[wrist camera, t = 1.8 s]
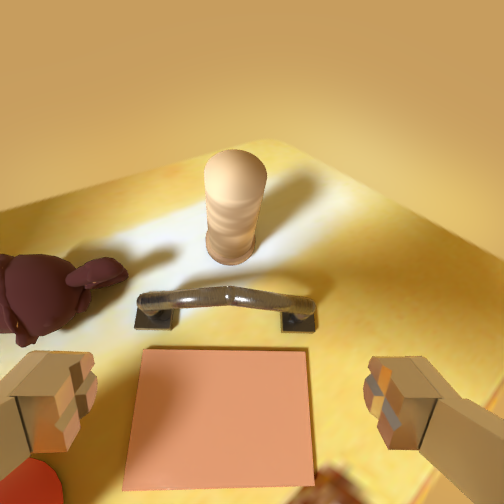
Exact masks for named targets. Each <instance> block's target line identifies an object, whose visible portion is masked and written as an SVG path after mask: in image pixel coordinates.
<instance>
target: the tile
mask: <svg viewBox="0 0 504 504" xmlns="http://www.w3.org/2000/svg"><path fill="white" fill-rule="evenodd" d="M289 486H315V484H314V470H313V456H312V441H311V427H310V412H309V398H308V384H307V369H306V355H305V352H295V351H229V350H162V349H143V355H142V362H141V368H140V375H139V381H138V388H137V395H136V401H135V408H134V414H133V421H132V428H131V434H130V441H129V447H128V454H127V461H126V467H125V474H124V480H123V487H122V491H147V490H182V489H218V488H253V487H289Z"/></svg>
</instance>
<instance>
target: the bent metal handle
mask: <svg viewBox="0 0 504 504" xmlns="http://www.w3.org/2000/svg"><path fill="white" fill-rule="evenodd" d="M227 305H231V306H239V307H247V308H255V309H262V310H270V311H278V312H280V317H281V333H314V332H315V323H314V312H315V311H316V303H315V302H314V300H312V299H310V298H305V297H298V296H292V295H286V294H279V293H273V292H266V291H260V290H254V289H247V288H241V287H234V286H223V287H211V288H199V289H187V290H175V291H163V292H150V293H143V294H140V296H139V297H138V298H137V306H138V308H137V314H136V319H135V325H134V328H135V329H136V330H171V326H172V317H173V309H182V308H197V307H212V306H227Z"/></svg>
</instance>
